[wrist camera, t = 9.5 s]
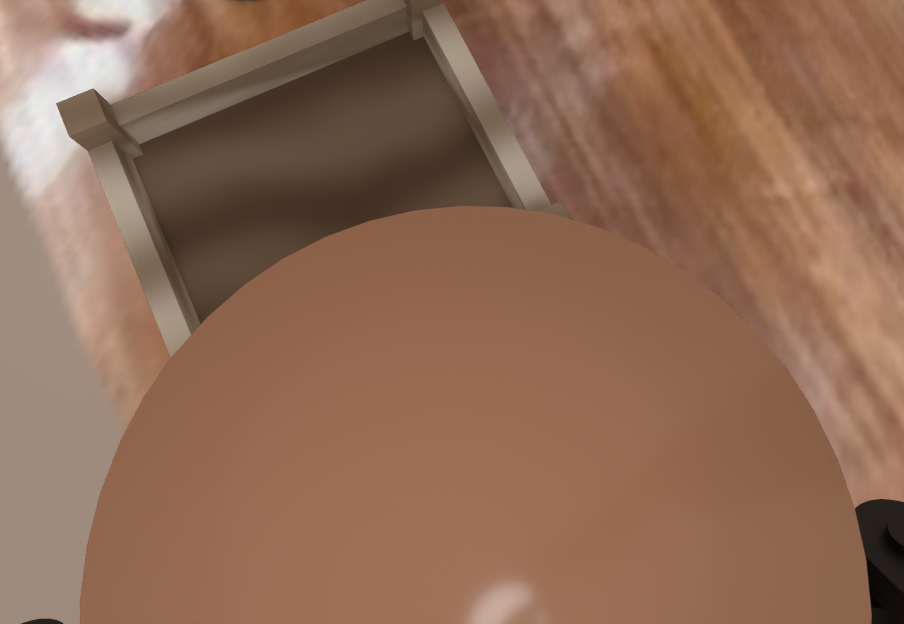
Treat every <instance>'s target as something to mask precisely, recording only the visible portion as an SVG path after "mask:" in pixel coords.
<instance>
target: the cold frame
mask: <svg viewBox="0 0 904 624" xmlns="http://www.w3.org/2000/svg"><path fill="white" fill-rule="evenodd" d="M56 105H57V107H58V110H59V112H60V115H61V117H62V120H63V122H64V125H65V127H66V130H67V132H68V135H69V137H71V138H72V139H73V140H75V141H76V142H77V143H78V144H80V145H81V146H82V147H84V148H85V149H86V150H88V152H89V155H90V157H91V160H92V162H93V165H94V167H95V170H96V172H97V175H98V177H99V180H100V182H101V185H102V187H103V190H104V192H105V195H106V197H107V200H108V202H109V205H110V207H111V210H112V212H113V215H114V217H115V220H116V222H117V225H118V227H119V230H120V232H121V235H122V237H123V240H124V242H125V245H126V247H127V250H128V252H129V255H130V257H131V260H132V262H133V265H134V267H135V270H136V272H137V275H138V277H139V280H140V282H141V285H142V287H143V290H144V292H145V295H146V297H147V300H148V302H149V305H150V307H151V310H152V312H153V315H154V317H155V320H156V322H157V325H158V327H159V330H160V332H161V335H162V337H163V340H164V342H165V345H166V347H167V350H168V352H169V355H170V357H171V358H172V356H173V355H174V354H175V352H176V351H177V350H178V349H179V348H180V347H181V346H182V345H183V344H184V342H185V341H186V340H187V339H188V338H189V337H190V336H191V335H192V334H193V332H194V331H195V330H196V329H197V328H198V327H199V326H200V325H201V324H202V322H203V321H204V320H205V319H206V318H207V317H208V316H209V315H210V314H211V313H213V312H214V311H215V310H216V309H217V308H218V307H219V306H221V305H222V304H223V303H224V302H225V301H226V300H228V299H229V298H230V297H231V296H232V295H233V294H234V293H236V292H237V291H238V290H239V289H240V288H241V287H242V286H244V285H245V284H246V283H248V282H249V281H251V280H252V279H254V278H255V277H257V276H258V275H260V274H261V273H263V272H264V271H266V270H267V269H269V268H270V267H272V266H273V265H274V264H276V263H277V262H279V261H280V260H282V259H283V258H285V257H287V256H289V255H291V254H293V253H295V252H297V251H299V250H301V249H303V248H305V247H307V246H309V245H311V244H313V243H315V242H317V241H319V240H320V239H322V238H324V237H326V236H329V235H332V234H335V233H338V232H340V231H343V230H346V229H349V228H351V227H354V226H357V225H360V224H362V223H365V222H368V221H371V220H375V219H380V218H384V217H389V216H393V215H397V214H402V213H406V212H411V211H415V210H425V209H435V208H445V207H455V206H483V207H509V208H516V209H523V210H529V211H536V212H542V213H549V214H554V215H558V216H561V217H565V218H568V219H571V218H570V216H569V214H568V212H567V210H566V209H565V207H564V205H563V203H562V201H559V202H557V203H555V204H553V205H551V203H550V201H549V199H548V198H547V196H546V194H545V192H544V190H543V188H542V186H541V184H540V183H539V181H538V179H537V177H536V175H535V173H534V171H533V169H532V168H531V166H530V164H529V162H528V160H527V158H526V156H525V154H524V153H523V151H522V149H521V147H520V145H519V143H518V141H517V139H516V138H515V136H514V134H513V132H512V130H511V128H510V126H509V124H508V123H507V121H506V119H505V117H504V115H503V113H502V111H501V109H500V108H499V106H498V104H497V102H496V100H495V98H494V96H493V94H492V92H491V91H490V89H489V87H488V85H487V83H486V81H485V79H484V77H483V76H482V74H481V72H480V70H479V68H478V66H477V64H476V62H475V61H474V59H473V57H472V55H471V53H470V51H469V49H468V47H467V46H466V44H465V42H464V40H463V38H462V36H461V34H460V32H459V31H458V29H457V27H456V25H455V23H454V21H453V19H452V17H451V16H450V14H449V12H448V10H447V8H446V6H445V4H444V0H366V1H363V2H361V3H359V4H356V5H354V6H351V7H349V8H346V9H344V10H341V11H339V12H337V13H334V14H332V15H329V16H327V17H324V18H322V19H320V20H317V21H315V22H312V23H310V24H307V25H305V26H302V27H300V28H298V29H295V30H293V31H290V32H288V33H285V34H283V35H280V36H278V37H276V38H273V39H271V40H268V41H266V42H263V43H261V44H259V45H256V46H254V47H251V48H249V49H246V50H244V51H241V52H239V53H237V54H234V55H232V56H229V57H227V58H224V59H222V60H219V61H217V62H215V63H212V64H210V65H207V66H205V67H202V68H200V69H198V70H195V71H193V72H190V73H188V74H185V75H183V76H180V77H178V78H176V79H173V80H171V81H168V82H166V83H163V84H161V85H158V86H156V87H154V88H151V89H149V90H146V91H144V92H141V93H139V94H136V95H134V96H132V97H129V98H127V99H124V100H122V101H119V102H117V103H115V104H112V105H110V104H109V103H108V102H107V101H106V100H105V99H104V98H103V97H102V96H101V95H100V94H99V93H98V92H97V91H96V90H95V89H91V90H88V91H86V92H83V93H81V94H78V95H76V96H73V97H71V98H68V99H66V100H63V101H61V102H59V103H56Z"/></svg>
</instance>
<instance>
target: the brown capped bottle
mask: <svg viewBox="0 0 904 624" xmlns="http://www.w3.org/2000/svg"><path fill="white" fill-rule="evenodd" d="M83 574H84V575H83V581H82V590H81V598H80V624H871V620H872V613H871V603H870V593H869V583H868V573H867V563H866V557H865V552H864V548H863V543H862V539H861V534H860V530H859V525H858V521H857V517H856V512H855V508H854V505H853V502H852V499H851V496H850V493H849V490H848V488H847V485H846V482H845V479H844V476H843V473H842V470H841V468H840V465H839V462H838V459H837V457H836V455H835V452H834V450H833V448H832V446H831V444H830V442H829V440H828V438H827V436H826V434H825V432H824V430H823V428H822V426H821V424H820V422H819V420H818V418H817V416H816V414H815V412H814V410H813V408H812V407H811V405H810V404H809V402H808V401H807V399H806V398H805V396H804V395H803V393H802V391H801V390H800V388H799V387H798V385H797V384H796V382H795V381H794V379H793V378H792V376H791V374H790V373H789V371H788V370H787V368H786V367H785V366H784V365H783V363H782V362H781V361H780V360H779V359H778V357H777V356H776V355H775V354H774V353H773V351H772V350H771V349H770V348H769V347H768V345H767V344H766V343H765V342H764V341H763V339H762V338H761V337H760V336H759V335H758V333H757V332H756V331H755V330H754V329H753V328H752V327H751V326H750V325H749V324H748V323H747V322H746V321H745V320H744V319H743V318H742V317H740V316H739V315H738V314H737V313H736V312H735V311H734V310H733V309H732V308H731V307H730V306H729V305H728V304H727V303H726V302H725V301H724V300H723V299H722V298H720V297H719V296H718V295H717V294H715V293H714V292H713V291H711V290H710V289H709V288H707V287H706V286H705V285H703V284H702V283H701V282H699V281H698V280H697V279H695V278H694V277H693V276H691V275H690V274H688V273H687V272H686V271H684V270H683V269H682V268H680V267H678V266H677V265H675V264H673V263H671V262H670V261H668V260H666V259H664V258H663V257H661V256H659V255H657V254H656V253H654V252H652V251H650V250H649V249H647V248H645V247H643V246H642V245H640V244H637V243H635V242H633V241H630V240H628V239H626V238H623V237H621V236H618V235H616V234H614V233H611V232H609V231H606V230H604V229H602V228H599V227H597V226H593V225H590V224H586V223H583V222H579V221H576V220H572V219H568V218H565V217H561V216H558V215H554V214H549V213H542V212H536V211H529V210H523V209H516V208H509V207H483V206H455V207H445V208H435V209H425V210H415V211H411V212H406V213H402V214H397V215H393V216H389V217H384V218H380V219H375V220H371V221H368V222H365V223H362V224H360V225H357V226H354V227H351V228H349V229H346V230H343V231H340V232H338V233H335V234H332V235H329V236H326V237H324V238H322V239H320V240H319V241H317V242H315V243H313V244H311V245H309V246H307V247H305V248H303V249H301V250H299V251H297V252H295V253H293V254H291V255H289V256H287V257H285V258H283V259H282V260H280V261H279V262H277V263H276V264H274V265H273V266H272V267H270V268H269V269H267V270H266V271H264V272H263V273H261V274H260V275H258V276H257V277H255V278H254V279H252V280H251V281H249V282H248V283H246V284H245V285H244V286H242V287H241V288H240V289H239V290H238V291H237V292H236V293H234V294H233V295H232V296H231V297H230V298H229V299H228V300H226V301H225V302H224V303H223V304H222V305H221V306H219V307H218V308H217V309H216V310H215V311H214V312H213V313H211V314H210V315H209V316H208V317H207V318H206V319H205V320H204V321H203V322H202V324H201V325H200V326H199V327H198V328H197V329H196V330H195V331H194V332H193V334H192V335H191V336H190V337H189V338H188V339H187V340H186V341H185V342H184V344H183V345H182V346H181V347H180V348H179V349H178V350H177V351H176V352H175V354H174V355H173V356H172V358H171V359H170V360H169V362H168V363H167V365H166V366H165V368H164V369H163V370H162V372H161V373H160V375H159V376H158V378H157V379H156V380H155V382H154V383H153V385H152V386H151V388H150V389H149V390H148V392H147V393H146V395H145V396H144V398H143V400H142V402H141V404H140V405H139V407H138V409H137V411H136V413H135V415H134V417H133V419H132V420H131V422H130V424H129V426H128V428H127V430H126V432H125V434H124V436H123V437H122V439H121V441H120V443H119V446H118V448H117V451H116V453H115V456H114V459H113V461H112V464H111V466H110V469H109V472H108V474H107V477H106V479H105V482H104V485H103V487H102V490H101V492H100V496H99V500H98V504H97V508H96V512H95V516H94V520H93V524H92V528H91V532H90V536H89V540H88V544H87V550H86V558H85V566H84V573H83Z"/></svg>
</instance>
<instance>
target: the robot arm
mask: <svg viewBox="0 0 904 624" xmlns="http://www.w3.org/2000/svg"><path fill="white" fill-rule="evenodd" d="M855 512H856V517H857V521H858V525H859V530H860V534H861V539H862V543H863V548H864V552H865V557H866V563H867V573H868V583H869V593H870V603H871V613H872V620H871V624H904V502H900V501H895V500H886V499H878V500H871V501H867V502H864V503H862V504H860V505H859V506H857V507H856V508H855ZM22 624H63V623H62V622H60V621H57V620H54V619H36V620H32V621H28V622H25V623H22Z"/></svg>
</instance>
